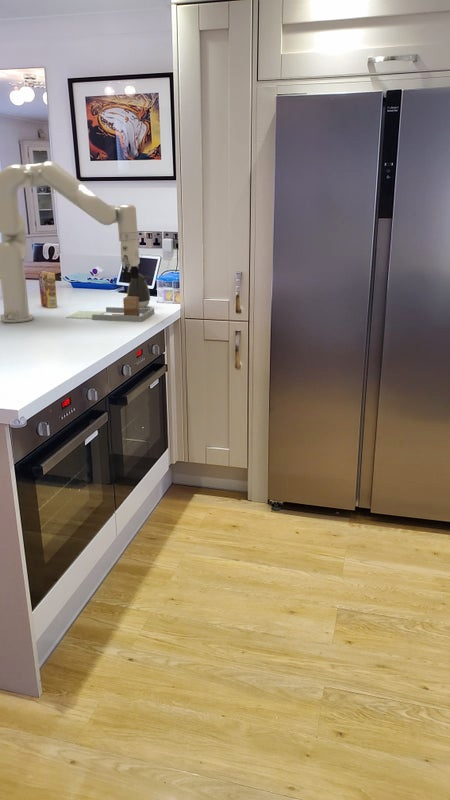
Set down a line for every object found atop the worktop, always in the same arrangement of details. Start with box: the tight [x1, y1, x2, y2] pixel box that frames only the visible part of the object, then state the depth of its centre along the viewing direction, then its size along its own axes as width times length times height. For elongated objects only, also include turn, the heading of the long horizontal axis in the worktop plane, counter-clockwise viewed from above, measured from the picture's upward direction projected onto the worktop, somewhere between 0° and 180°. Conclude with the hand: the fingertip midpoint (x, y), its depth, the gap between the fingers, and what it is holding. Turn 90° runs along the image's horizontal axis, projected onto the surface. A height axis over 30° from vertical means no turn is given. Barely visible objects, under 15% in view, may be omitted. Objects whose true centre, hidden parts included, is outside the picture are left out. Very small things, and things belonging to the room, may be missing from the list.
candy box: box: [38, 270, 58, 309], centre depth 280 cm, size 9×4×15 cm, turn 39°
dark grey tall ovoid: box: [126, 273, 151, 308], centre depth 277 cm, size 10×10×15 cm
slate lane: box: [91, 306, 155, 322], centre depth 260 cm, size 17×21×2 cm
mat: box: [65, 310, 107, 320], centre depth 263 cm, size 14×12×1 cm
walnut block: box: [111, 295, 140, 316], centre depth 259 cm, size 5×11×8 cm, turn 80°
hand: (131, 280), depth 255 cm, fingers open, 9 cm apart
